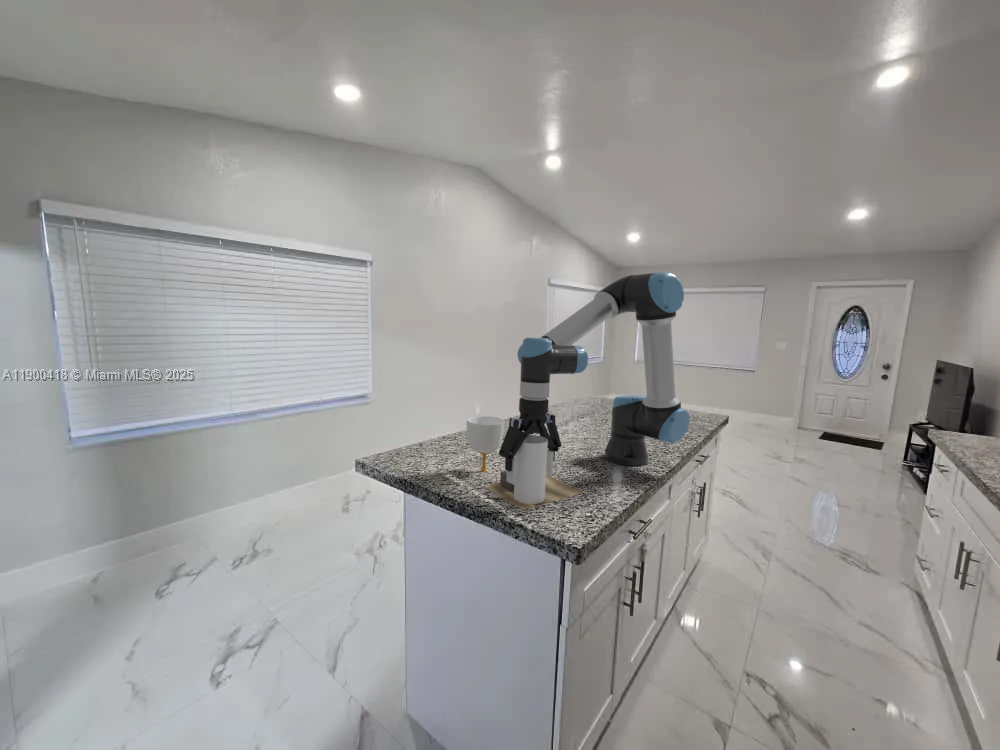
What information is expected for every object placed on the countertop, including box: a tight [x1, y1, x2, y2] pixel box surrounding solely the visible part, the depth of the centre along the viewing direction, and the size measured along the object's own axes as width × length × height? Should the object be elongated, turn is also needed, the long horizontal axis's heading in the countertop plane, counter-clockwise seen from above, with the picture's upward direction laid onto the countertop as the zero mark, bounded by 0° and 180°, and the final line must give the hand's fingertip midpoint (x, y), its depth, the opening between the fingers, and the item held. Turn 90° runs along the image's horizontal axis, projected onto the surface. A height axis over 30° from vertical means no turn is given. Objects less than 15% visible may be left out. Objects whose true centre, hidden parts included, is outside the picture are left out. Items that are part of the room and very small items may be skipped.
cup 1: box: [466, 415, 506, 473], centre depth 130 cm, size 12×12×17 cm
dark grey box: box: [499, 470, 514, 491], centre depth 119 cm, size 5×5×4 cm
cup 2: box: [514, 434, 548, 504], centre depth 111 cm, size 8×8×16 cm
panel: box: [483, 474, 585, 511], centre depth 118 cm, size 22×18×1 cm
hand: (530, 478), depth 112 cm, fingers open, 12 cm apart
